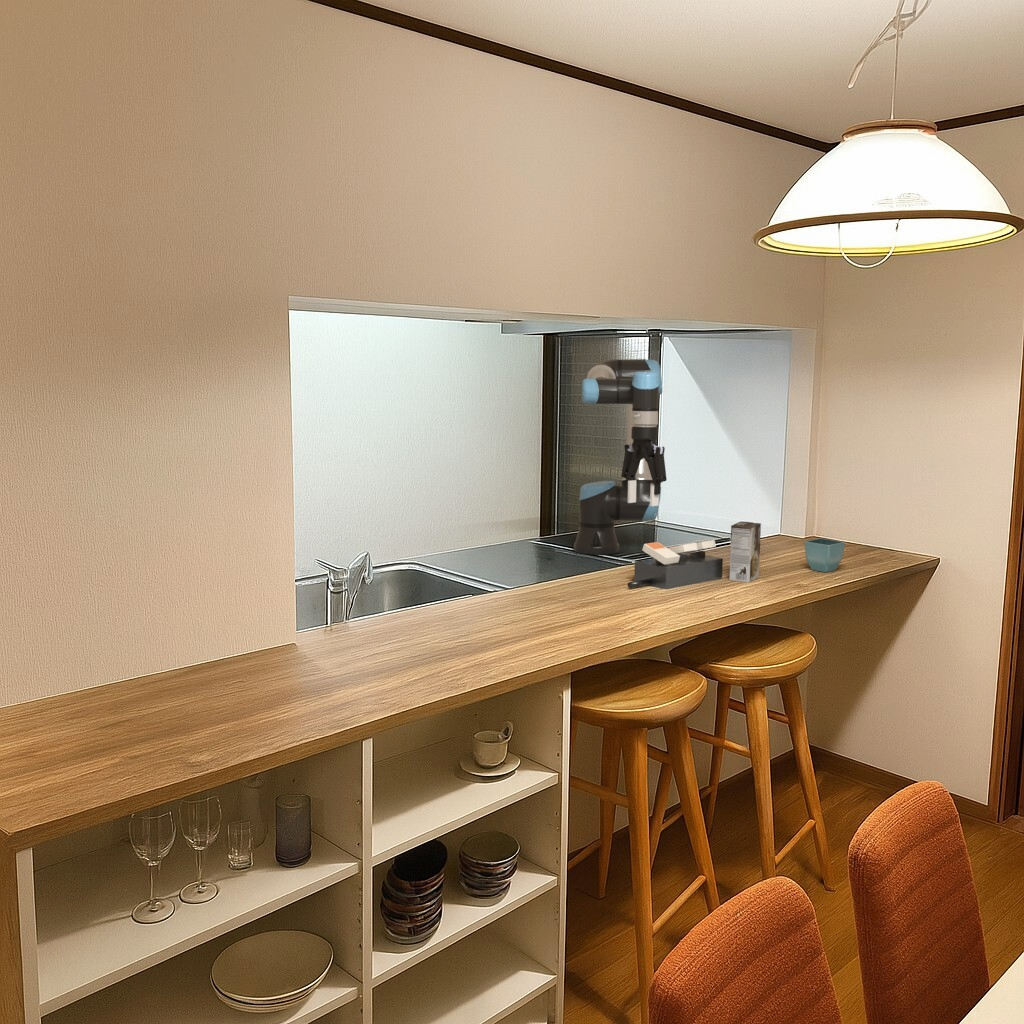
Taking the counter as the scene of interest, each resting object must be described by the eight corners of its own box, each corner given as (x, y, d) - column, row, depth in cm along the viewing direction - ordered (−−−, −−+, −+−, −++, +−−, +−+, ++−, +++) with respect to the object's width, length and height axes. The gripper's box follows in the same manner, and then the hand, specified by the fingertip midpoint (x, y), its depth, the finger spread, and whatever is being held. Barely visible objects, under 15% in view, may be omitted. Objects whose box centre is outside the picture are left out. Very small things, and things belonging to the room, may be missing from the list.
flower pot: (827, 574, 290) (829, 545, 289) (802, 570, 297) (803, 541, 296) (844, 571, 296) (845, 541, 294) (818, 566, 302) (820, 538, 301)
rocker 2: (661, 556, 282) (660, 549, 282) (674, 554, 285) (673, 547, 285) (684, 551, 275) (682, 544, 275) (697, 549, 278) (696, 542, 278)
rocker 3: (680, 553, 287) (678, 546, 287) (693, 551, 290) (691, 544, 290) (703, 548, 280) (701, 541, 280) (715, 546, 283) (714, 539, 283)
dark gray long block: (614, 585, 273) (614, 559, 272) (690, 572, 293) (691, 547, 292) (645, 593, 264) (646, 566, 263) (722, 578, 284) (723, 553, 283)
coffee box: (738, 574, 289) (740, 521, 287) (759, 577, 286) (761, 522, 284) (728, 580, 281) (730, 524, 279) (750, 582, 278) (752, 526, 276)
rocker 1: (642, 550, 276) (644, 543, 275) (655, 548, 280) (657, 541, 279) (664, 564, 270) (666, 557, 269) (678, 562, 274) (680, 555, 273)
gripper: (609, 424, 287) (608, 501, 290) (663, 427, 270) (661, 509, 274) (627, 424, 291) (626, 499, 295) (681, 427, 275) (679, 506, 278)
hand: (642, 504), depth 284 cm, fingers open, 8 cm apart
